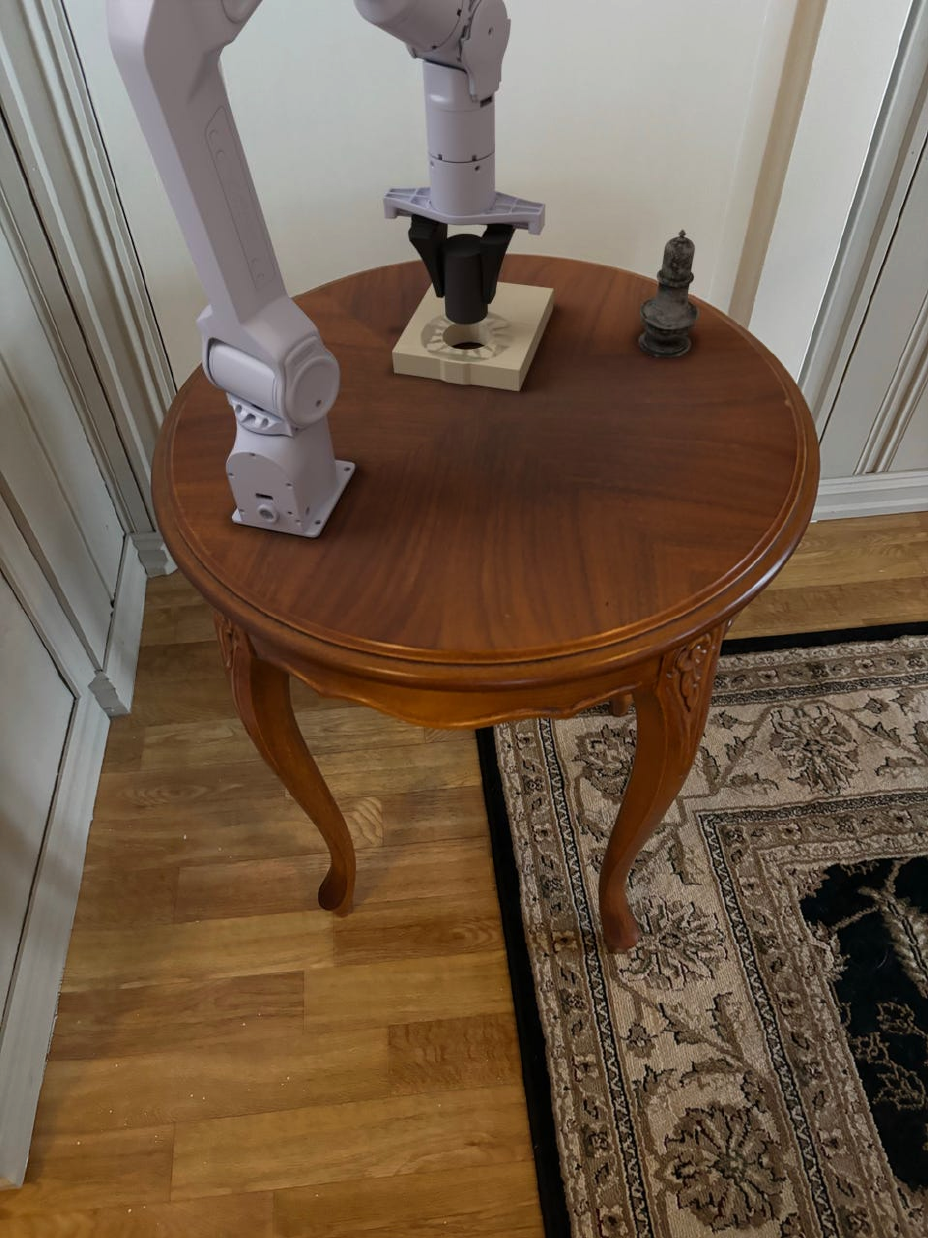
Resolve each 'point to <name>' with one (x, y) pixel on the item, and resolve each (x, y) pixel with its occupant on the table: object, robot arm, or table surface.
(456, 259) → the dark grey cylinder
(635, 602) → the table surface
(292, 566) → the table surface
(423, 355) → the back plate
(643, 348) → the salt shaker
